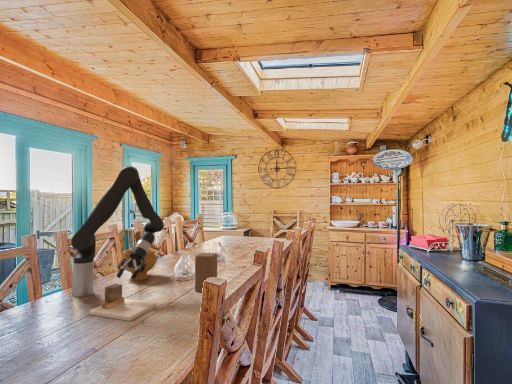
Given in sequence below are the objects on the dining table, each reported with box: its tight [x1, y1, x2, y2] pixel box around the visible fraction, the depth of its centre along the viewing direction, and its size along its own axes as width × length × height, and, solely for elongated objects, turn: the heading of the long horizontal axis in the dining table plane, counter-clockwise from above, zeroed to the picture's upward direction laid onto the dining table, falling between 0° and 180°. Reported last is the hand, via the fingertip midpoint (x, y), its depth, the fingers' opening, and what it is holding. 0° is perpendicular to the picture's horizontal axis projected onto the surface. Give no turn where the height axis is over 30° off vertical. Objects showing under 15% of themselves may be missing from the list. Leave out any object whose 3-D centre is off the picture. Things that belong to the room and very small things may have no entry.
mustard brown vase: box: [122, 230, 158, 281], centre depth 196 cm, size 21×21×30 cm
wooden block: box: [194, 252, 218, 293], centre depth 171 cm, size 10×10×20 cm
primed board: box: [88, 298, 157, 322], centre depth 141 cm, size 22×18×2 cm
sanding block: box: [101, 283, 125, 309], centre depth 143 cm, size 5×9×9 cm, turn 162°
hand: (125, 277), depth 150 cm, fingers open, 8 cm apart
